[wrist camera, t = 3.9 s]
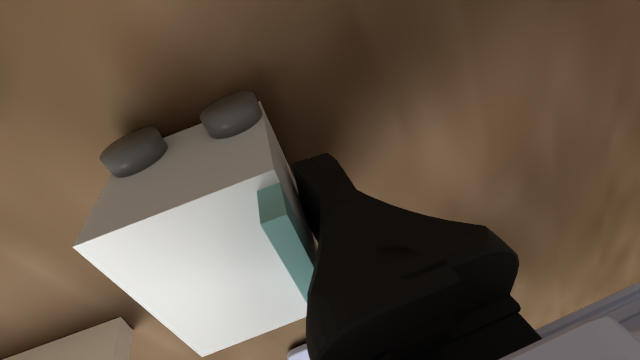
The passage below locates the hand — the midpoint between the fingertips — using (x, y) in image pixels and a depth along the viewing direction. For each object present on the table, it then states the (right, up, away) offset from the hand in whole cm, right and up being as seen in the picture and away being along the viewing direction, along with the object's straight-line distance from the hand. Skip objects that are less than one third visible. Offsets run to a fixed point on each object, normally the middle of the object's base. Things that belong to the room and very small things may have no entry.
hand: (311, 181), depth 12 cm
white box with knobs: (-3, 0, +1) cm, 3 cm away
